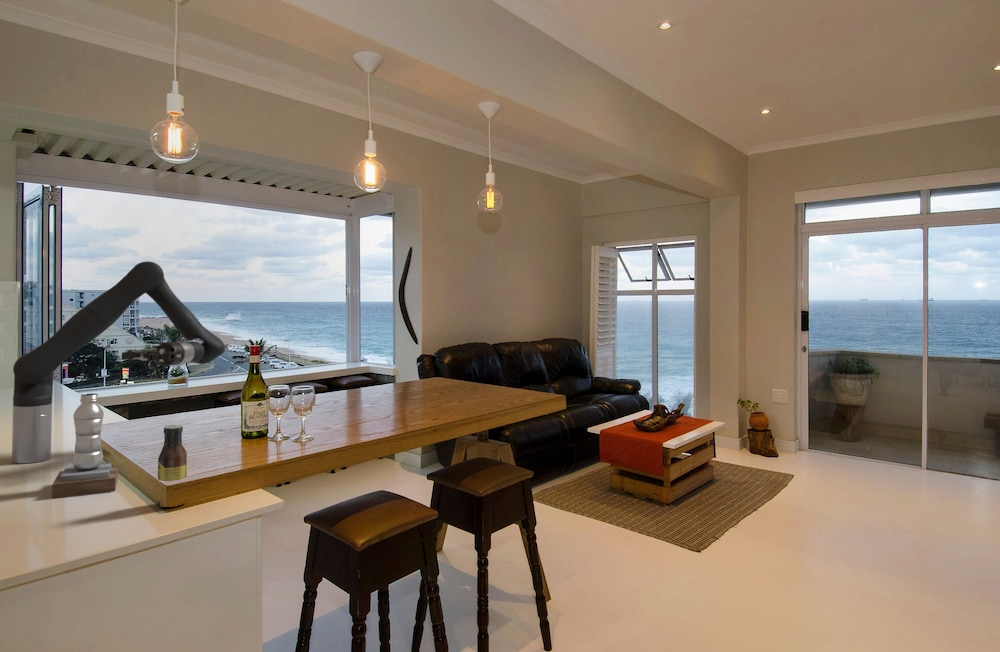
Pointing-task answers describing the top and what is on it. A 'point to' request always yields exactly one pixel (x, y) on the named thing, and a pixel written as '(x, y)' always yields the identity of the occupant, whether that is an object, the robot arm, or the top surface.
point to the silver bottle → (88, 433)
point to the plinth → (85, 481)
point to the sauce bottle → (172, 456)
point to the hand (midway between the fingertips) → (135, 356)
